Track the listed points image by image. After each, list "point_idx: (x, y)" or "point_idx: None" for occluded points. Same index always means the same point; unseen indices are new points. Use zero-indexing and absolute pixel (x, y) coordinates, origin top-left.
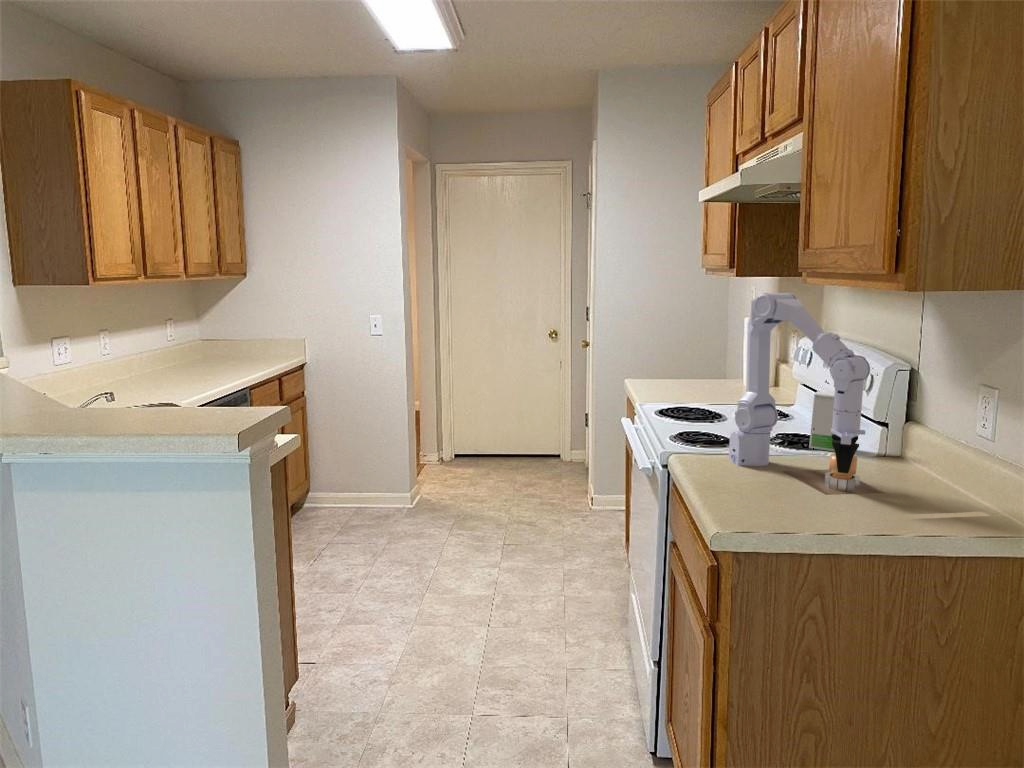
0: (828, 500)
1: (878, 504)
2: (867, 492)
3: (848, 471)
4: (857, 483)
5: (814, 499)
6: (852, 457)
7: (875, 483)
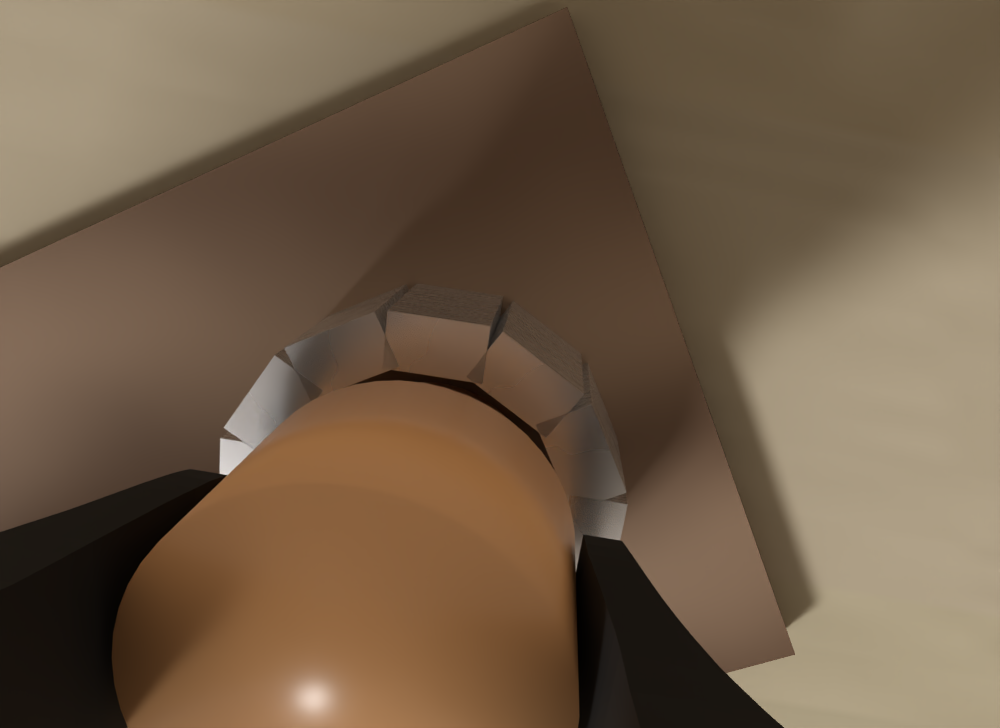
0: (860, 618)
1: (942, 162)
2: (621, 227)
3: (628, 552)
4: (542, 345)
5: (846, 721)
6: (757, 705)
7: (21, 16)
